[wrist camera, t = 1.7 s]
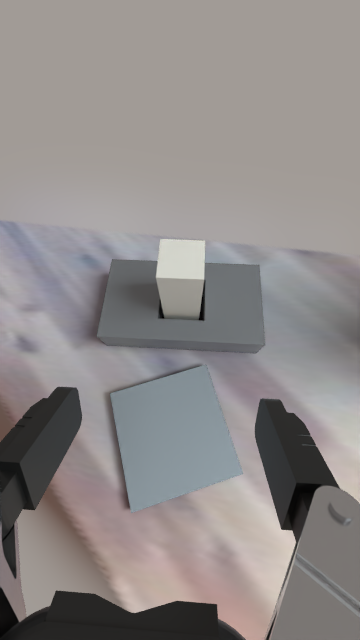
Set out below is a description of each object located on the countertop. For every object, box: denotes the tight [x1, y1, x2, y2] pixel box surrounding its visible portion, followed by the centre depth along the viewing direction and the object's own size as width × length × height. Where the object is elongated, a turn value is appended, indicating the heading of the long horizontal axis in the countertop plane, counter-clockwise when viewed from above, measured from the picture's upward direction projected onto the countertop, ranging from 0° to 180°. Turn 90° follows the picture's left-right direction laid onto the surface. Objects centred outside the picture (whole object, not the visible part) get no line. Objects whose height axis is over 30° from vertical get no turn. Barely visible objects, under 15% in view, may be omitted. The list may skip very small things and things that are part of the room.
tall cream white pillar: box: [156, 239, 205, 320], centre depth 26 cm, size 4×4×11 cm
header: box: [97, 259, 265, 353], centre depth 29 cm, size 18×10×4 cm, turn 87°
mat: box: [110, 365, 243, 513], centre depth 25 cm, size 11×11×1 cm
